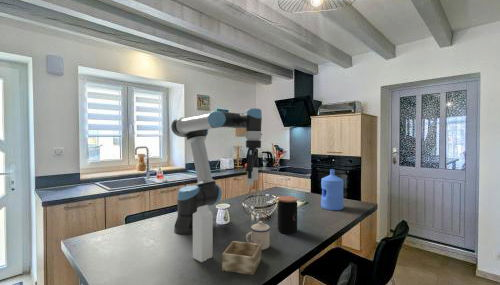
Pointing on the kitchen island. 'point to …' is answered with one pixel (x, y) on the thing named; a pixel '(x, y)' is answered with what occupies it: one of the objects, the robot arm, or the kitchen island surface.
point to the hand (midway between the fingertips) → (252, 182)
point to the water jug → (332, 192)
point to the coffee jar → (287, 214)
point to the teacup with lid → (260, 235)
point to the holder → (241, 257)
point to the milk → (202, 234)
